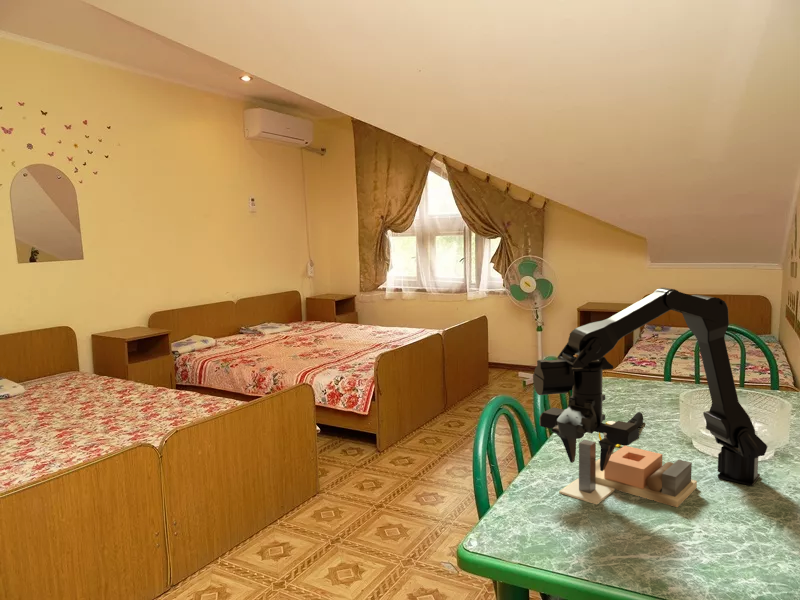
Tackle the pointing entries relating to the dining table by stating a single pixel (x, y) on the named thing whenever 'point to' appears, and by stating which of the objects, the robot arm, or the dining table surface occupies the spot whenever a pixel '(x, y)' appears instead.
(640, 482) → the orange block with hole
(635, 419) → the electric trimmer
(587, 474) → the gray rectangular bar
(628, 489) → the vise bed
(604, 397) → the robot arm
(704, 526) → the dining table surface
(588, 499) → the beige square tile
